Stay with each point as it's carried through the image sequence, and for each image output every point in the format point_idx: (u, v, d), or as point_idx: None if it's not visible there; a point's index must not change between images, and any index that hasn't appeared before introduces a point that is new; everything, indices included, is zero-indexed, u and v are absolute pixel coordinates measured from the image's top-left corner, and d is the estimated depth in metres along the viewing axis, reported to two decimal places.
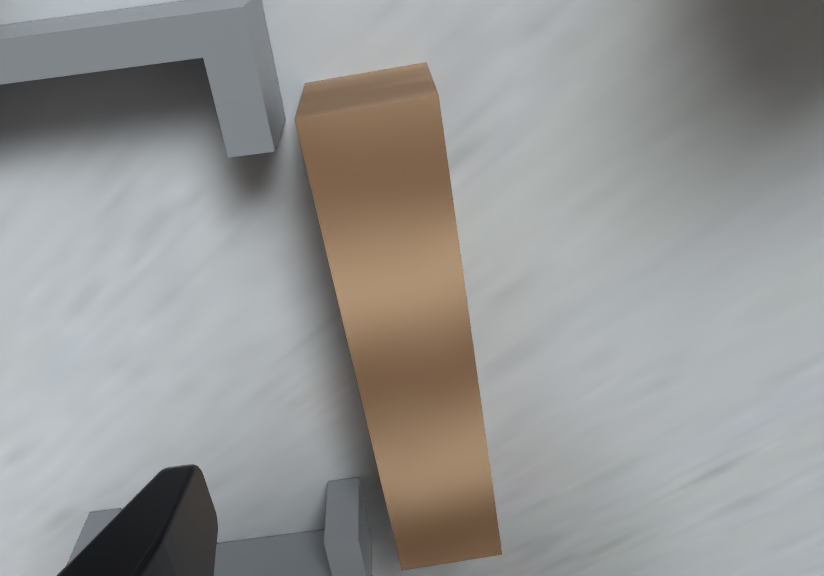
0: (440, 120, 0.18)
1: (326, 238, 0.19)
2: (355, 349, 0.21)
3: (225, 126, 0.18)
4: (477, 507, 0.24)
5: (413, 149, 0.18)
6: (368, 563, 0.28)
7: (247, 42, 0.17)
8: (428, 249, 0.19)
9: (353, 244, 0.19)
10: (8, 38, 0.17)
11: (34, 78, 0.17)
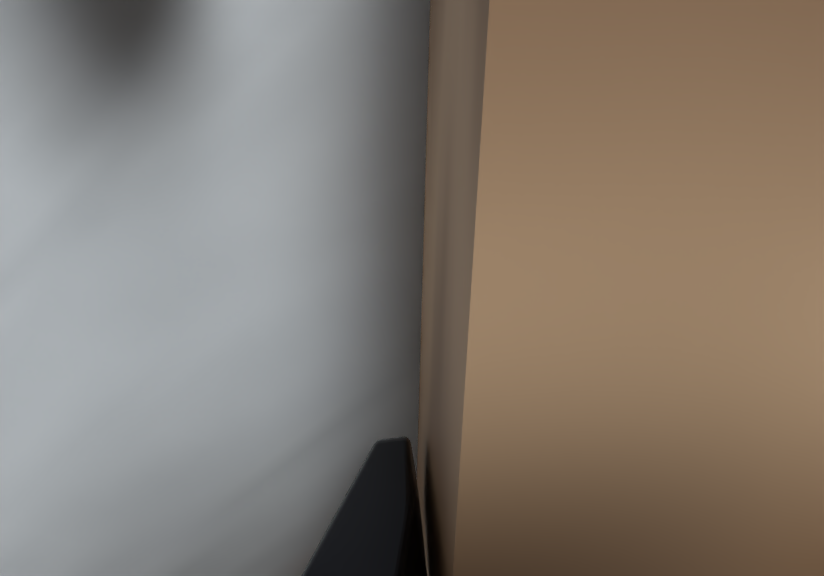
0: None
1: (497, 110, 0.04)
2: (474, 548, 0.06)
3: None
4: None
5: None
6: None
7: None
8: None
9: (604, 159, 0.04)
10: None
11: None
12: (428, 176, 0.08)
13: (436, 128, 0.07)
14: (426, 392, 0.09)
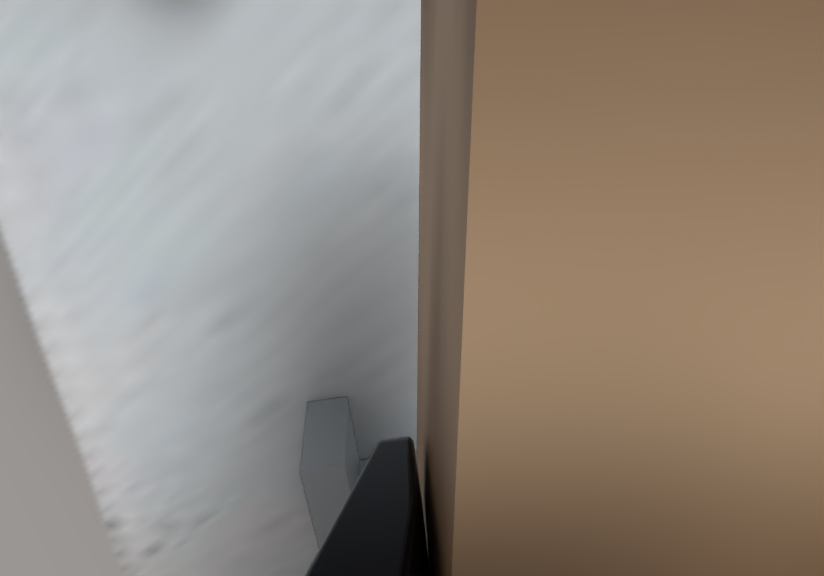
0: None
1: (487, 112, 0.04)
2: (473, 553, 0.06)
3: None
4: None
5: None
6: None
7: None
8: None
9: (596, 160, 0.04)
10: None
11: None
12: (423, 177, 0.08)
13: (430, 128, 0.07)
14: (425, 394, 0.09)
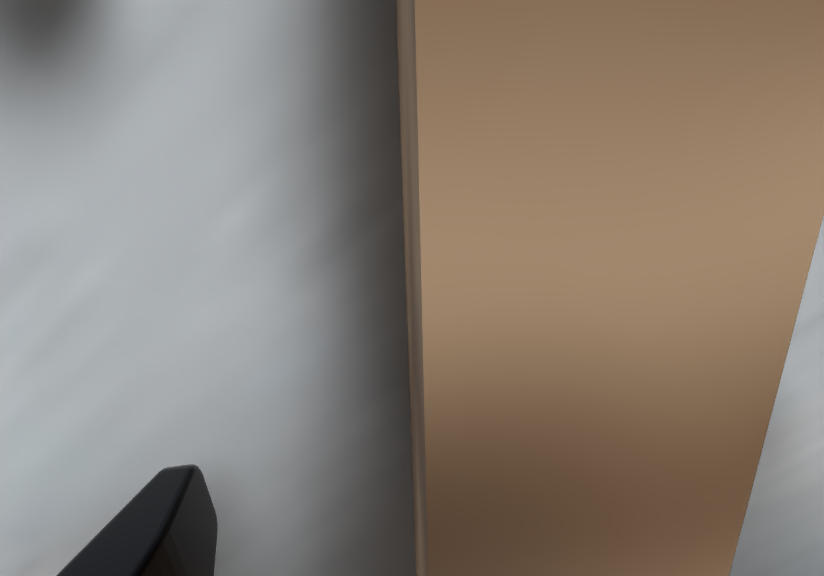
0: None
1: (428, 66, 0.06)
2: (441, 432, 0.07)
3: None
4: None
5: None
6: None
7: None
8: (743, 151, 0.06)
9: (514, 101, 0.06)
10: None
11: None
12: (401, 139, 0.09)
13: (402, 95, 0.08)
14: (410, 328, 0.10)
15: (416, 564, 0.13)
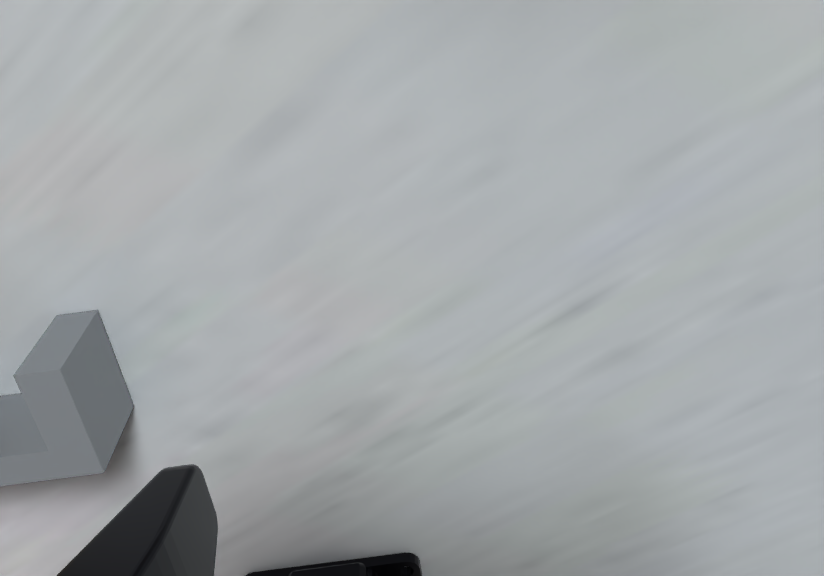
0: None
1: None
2: None
3: None
4: None
5: None
6: (103, 420, 0.21)
7: None
8: None
9: None
10: None
11: None
12: None
13: None
14: None
15: None
